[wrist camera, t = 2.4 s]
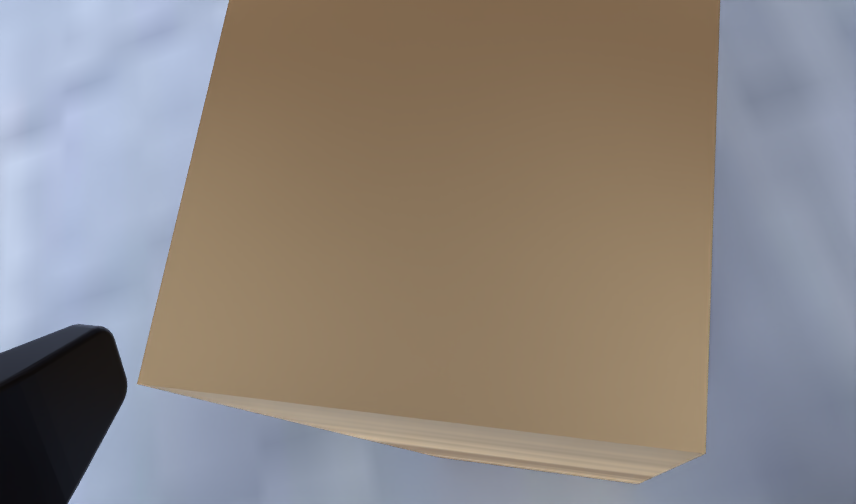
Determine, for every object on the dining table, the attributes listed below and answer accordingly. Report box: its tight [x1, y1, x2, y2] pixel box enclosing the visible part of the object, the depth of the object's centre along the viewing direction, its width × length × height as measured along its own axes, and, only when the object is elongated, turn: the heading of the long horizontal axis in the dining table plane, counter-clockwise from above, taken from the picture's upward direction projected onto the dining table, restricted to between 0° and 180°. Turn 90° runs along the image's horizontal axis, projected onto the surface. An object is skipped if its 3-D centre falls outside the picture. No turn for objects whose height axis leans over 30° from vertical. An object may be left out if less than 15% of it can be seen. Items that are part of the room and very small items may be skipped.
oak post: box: [137, 0, 720, 484], centre depth 12 cm, size 4×4×12 cm
